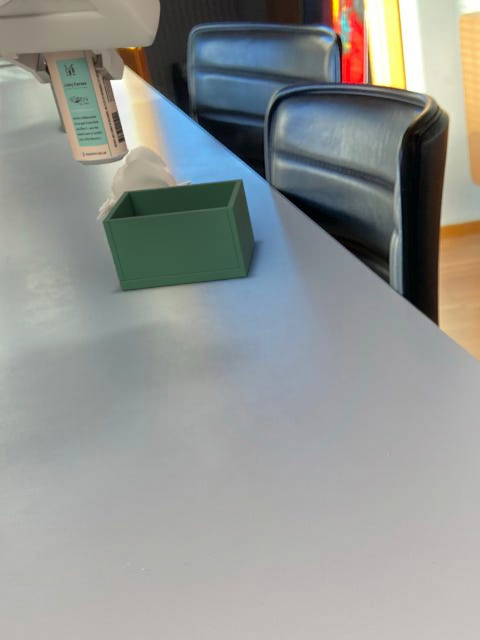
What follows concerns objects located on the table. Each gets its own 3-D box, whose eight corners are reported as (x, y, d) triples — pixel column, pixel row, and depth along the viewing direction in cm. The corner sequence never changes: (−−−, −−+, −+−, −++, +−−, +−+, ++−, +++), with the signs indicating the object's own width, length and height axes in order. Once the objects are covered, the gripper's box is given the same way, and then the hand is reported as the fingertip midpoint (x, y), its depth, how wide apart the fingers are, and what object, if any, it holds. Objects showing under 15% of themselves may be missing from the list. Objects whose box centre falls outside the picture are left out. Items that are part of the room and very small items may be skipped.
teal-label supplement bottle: (117, 152, 92) (76, -4, 85) (139, 158, 89) (99, -4, 82) (66, 162, 90) (19, 3, 82) (86, 169, 86) (40, 4, 79)
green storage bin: (121, 290, 107) (102, 221, 103) (141, 255, 118) (124, 191, 114) (247, 276, 108) (232, 207, 104) (255, 243, 118) (242, 178, 114)
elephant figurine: (105, 227, 130) (84, 152, 125) (200, 214, 132) (183, 139, 126) (100, 246, 122) (78, 167, 117) (201, 232, 124) (183, 153, 119)
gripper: (108, -111, 71) (201, 33, 84) (-141, -87, 75) (-15, 46, 88) (95, -29, 70) (190, 104, 83) (-156, -10, 74) (-27, 113, 87)
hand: (83, 74), depth 86 cm, fingers closed on teal-label supplement bottle, 5 cm apart
